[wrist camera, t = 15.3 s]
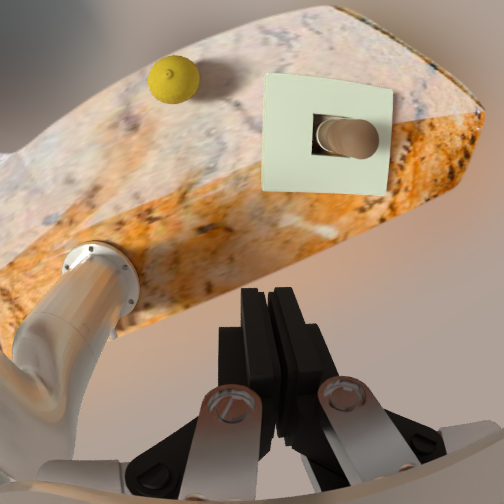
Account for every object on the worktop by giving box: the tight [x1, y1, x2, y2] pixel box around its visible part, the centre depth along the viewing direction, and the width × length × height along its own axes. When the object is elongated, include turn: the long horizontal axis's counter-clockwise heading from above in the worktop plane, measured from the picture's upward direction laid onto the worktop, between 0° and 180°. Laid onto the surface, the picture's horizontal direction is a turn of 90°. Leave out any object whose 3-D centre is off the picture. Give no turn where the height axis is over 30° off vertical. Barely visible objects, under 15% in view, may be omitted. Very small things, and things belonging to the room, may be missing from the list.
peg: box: [313, 119, 379, 159], centre depth 30 cm, size 4×4×11 cm
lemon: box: [148, 55, 200, 104], centre depth 28 cm, size 6×6×8 cm
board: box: [261, 73, 393, 196], centre depth 34 cm, size 14×16×2 cm
